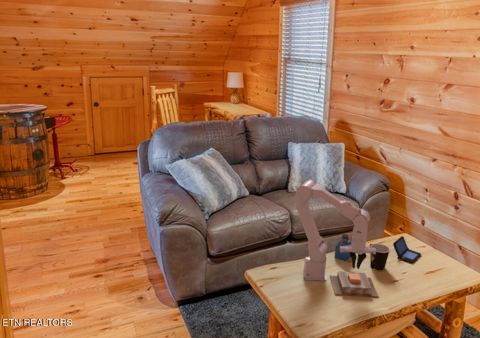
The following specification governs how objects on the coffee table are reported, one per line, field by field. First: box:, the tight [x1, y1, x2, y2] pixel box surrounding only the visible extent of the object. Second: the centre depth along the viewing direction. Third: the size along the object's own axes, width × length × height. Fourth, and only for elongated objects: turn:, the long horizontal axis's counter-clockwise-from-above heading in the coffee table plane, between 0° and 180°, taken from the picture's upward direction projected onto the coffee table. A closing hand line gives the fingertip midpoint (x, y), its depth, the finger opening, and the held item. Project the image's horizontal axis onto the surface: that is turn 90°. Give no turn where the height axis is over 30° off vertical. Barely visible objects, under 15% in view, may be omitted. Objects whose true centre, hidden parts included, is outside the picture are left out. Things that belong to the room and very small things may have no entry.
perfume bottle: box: [334, 233, 352, 263], centre depth 199 cm, size 6×6×12 cm
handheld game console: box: [392, 235, 422, 264], centre depth 203 cm, size 12×11×7 cm
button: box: [348, 273, 361, 283], centre depth 176 cm, size 4×4×3 cm
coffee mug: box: [369, 243, 391, 272], centre depth 193 cm, size 12×9×10 cm
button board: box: [329, 271, 380, 298], centre depth 176 cm, size 18×14×4 cm
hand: (355, 267), depth 174 cm, fingers closed
